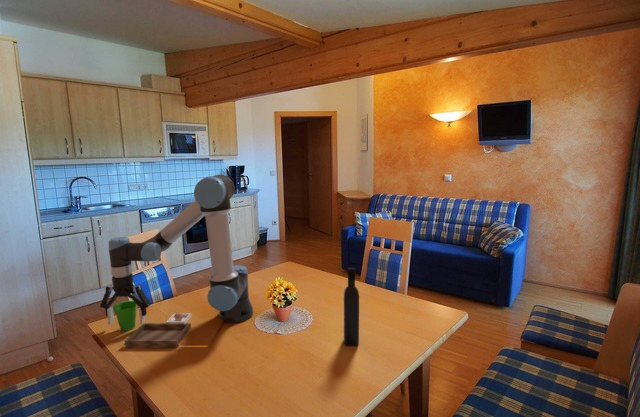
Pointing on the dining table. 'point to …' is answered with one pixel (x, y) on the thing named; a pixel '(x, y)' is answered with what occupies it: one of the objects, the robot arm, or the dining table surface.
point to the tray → (158, 335)
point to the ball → (178, 316)
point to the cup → (126, 315)
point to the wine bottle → (351, 310)
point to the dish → (183, 320)
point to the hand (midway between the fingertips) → (127, 322)
